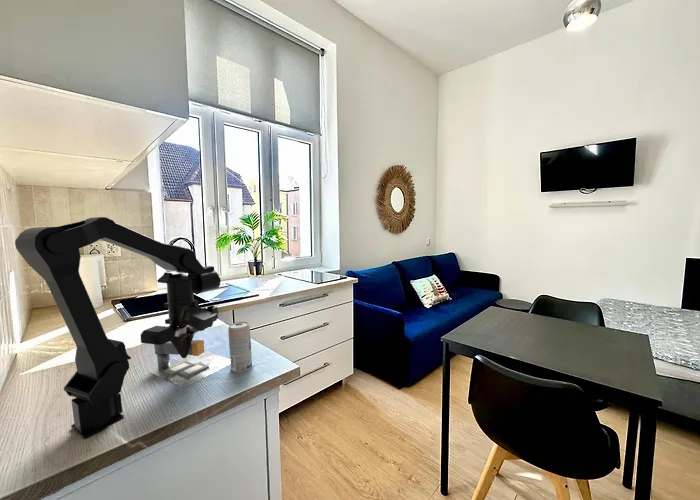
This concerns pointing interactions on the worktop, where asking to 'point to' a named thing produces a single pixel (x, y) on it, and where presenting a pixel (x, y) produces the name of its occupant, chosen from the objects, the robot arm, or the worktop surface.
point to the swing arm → (169, 348)
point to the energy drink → (240, 346)
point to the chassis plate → (204, 358)
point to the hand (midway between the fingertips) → (184, 357)
